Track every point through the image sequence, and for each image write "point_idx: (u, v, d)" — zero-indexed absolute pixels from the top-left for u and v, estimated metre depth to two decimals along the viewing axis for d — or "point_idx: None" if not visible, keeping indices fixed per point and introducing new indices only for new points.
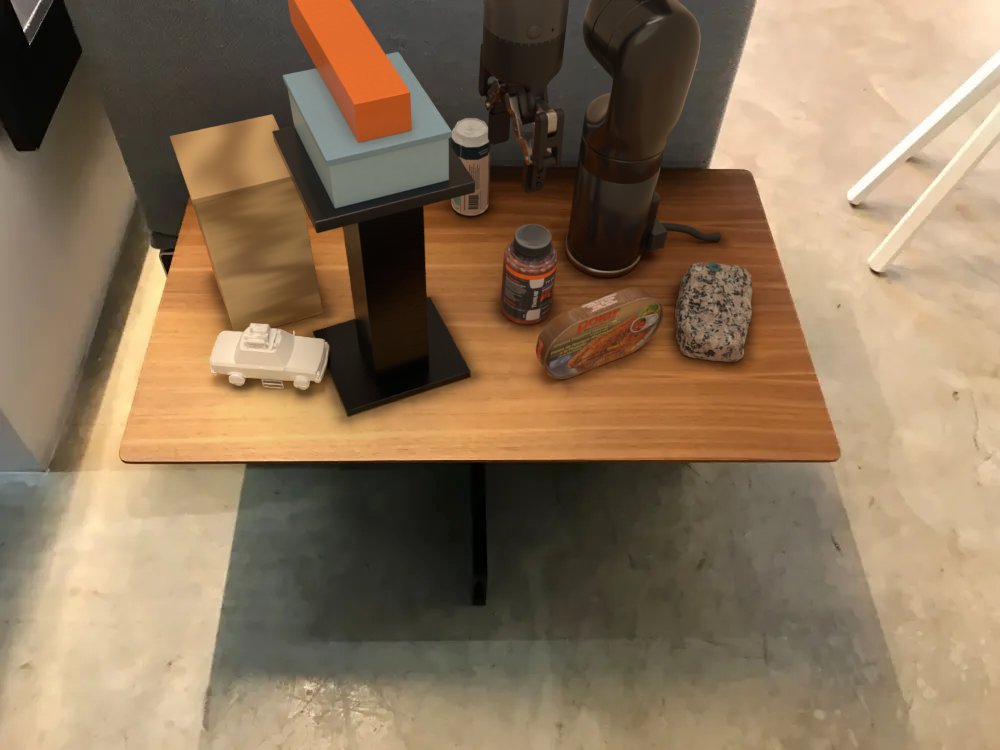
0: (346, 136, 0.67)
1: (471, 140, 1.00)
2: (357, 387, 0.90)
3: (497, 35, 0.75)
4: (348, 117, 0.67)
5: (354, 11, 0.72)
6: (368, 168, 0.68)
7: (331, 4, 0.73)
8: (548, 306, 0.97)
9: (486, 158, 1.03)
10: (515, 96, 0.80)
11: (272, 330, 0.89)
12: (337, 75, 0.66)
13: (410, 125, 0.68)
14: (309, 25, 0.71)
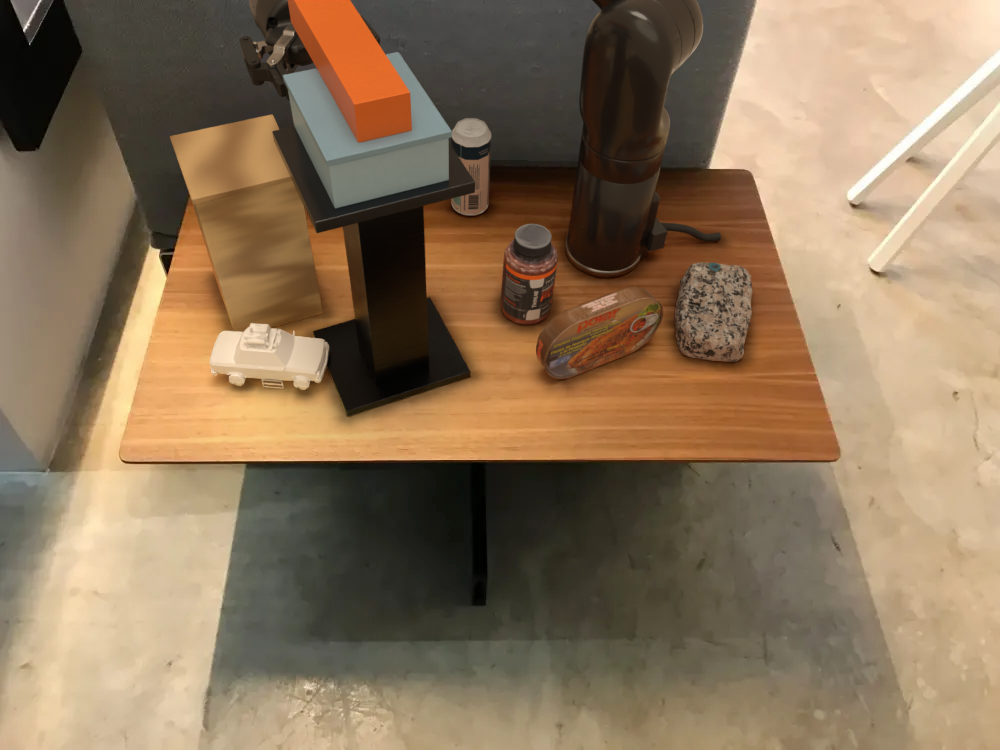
0: (346, 136, 0.67)
1: (471, 140, 1.00)
2: (357, 387, 0.90)
3: None
4: (348, 117, 0.67)
5: (354, 11, 0.72)
6: (368, 168, 0.68)
7: (331, 4, 0.73)
8: (548, 306, 0.97)
9: (486, 158, 1.03)
10: None
11: (272, 330, 0.89)
12: (337, 75, 0.66)
13: (410, 125, 0.68)
14: (309, 25, 0.71)
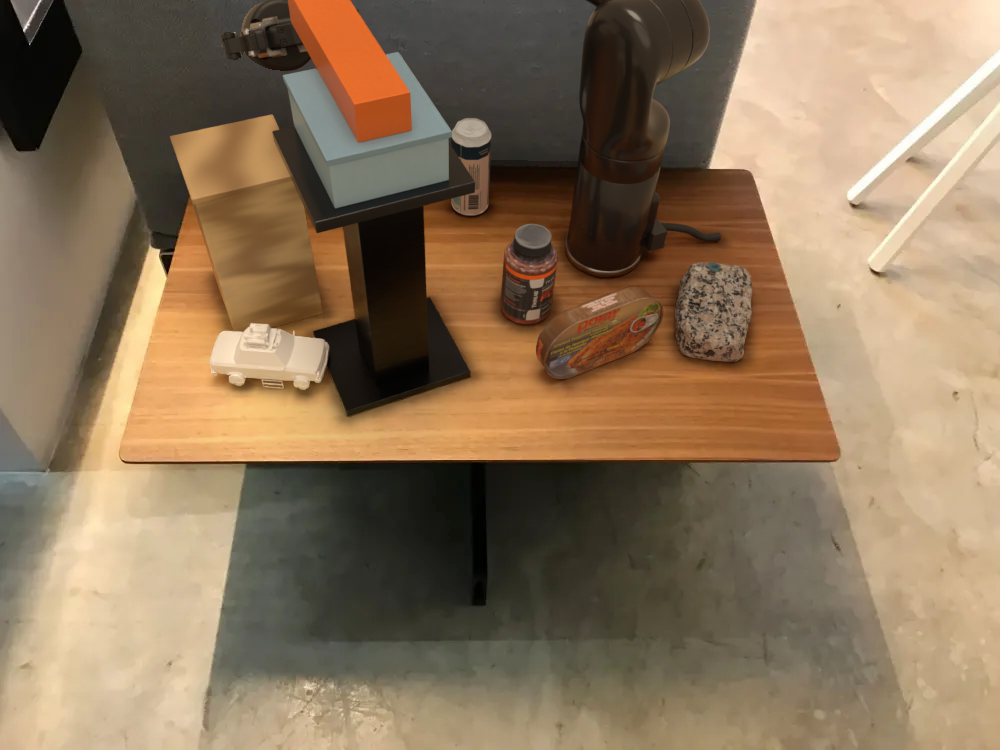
0: (346, 136, 0.67)
1: (471, 140, 1.00)
2: (357, 387, 0.90)
3: (272, 69, 0.99)
4: (348, 117, 0.67)
5: (354, 11, 0.72)
6: (368, 168, 0.68)
7: (331, 4, 0.73)
8: (548, 306, 0.97)
9: (486, 158, 1.03)
10: None
11: (272, 330, 0.89)
12: (337, 75, 0.66)
13: (410, 125, 0.68)
14: (309, 25, 0.71)
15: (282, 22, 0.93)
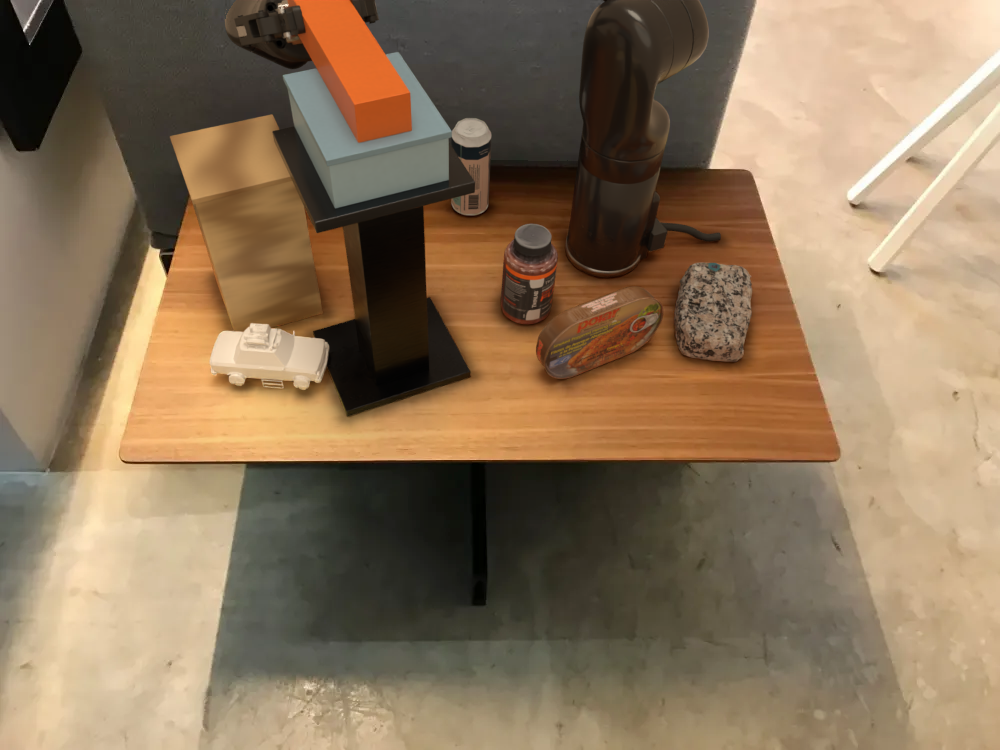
0: (346, 136, 0.67)
1: (471, 140, 1.00)
2: (357, 387, 0.90)
3: (289, 60, 0.88)
4: (348, 117, 0.67)
5: (354, 11, 0.72)
6: (368, 168, 0.68)
7: (331, 4, 0.73)
8: (548, 306, 0.97)
9: (486, 158, 1.03)
10: None
11: (272, 330, 0.89)
12: (337, 75, 0.66)
13: (410, 125, 0.68)
14: (309, 25, 0.71)
15: None
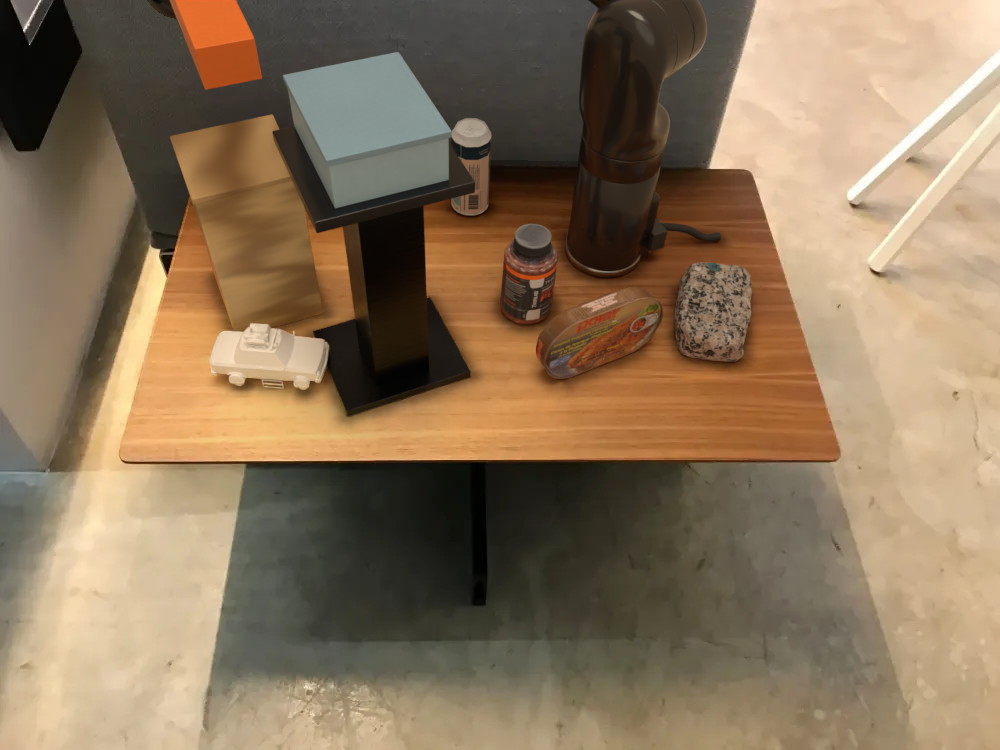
0: (346, 136, 0.67)
1: (471, 140, 1.00)
2: (357, 387, 0.90)
3: (174, 17, 0.88)
4: (196, 64, 0.67)
5: None
6: (368, 168, 0.68)
7: None
8: (548, 306, 0.97)
9: (486, 158, 1.03)
10: None
11: (272, 330, 0.89)
12: (183, 21, 0.66)
13: (259, 73, 0.67)
14: None
15: None
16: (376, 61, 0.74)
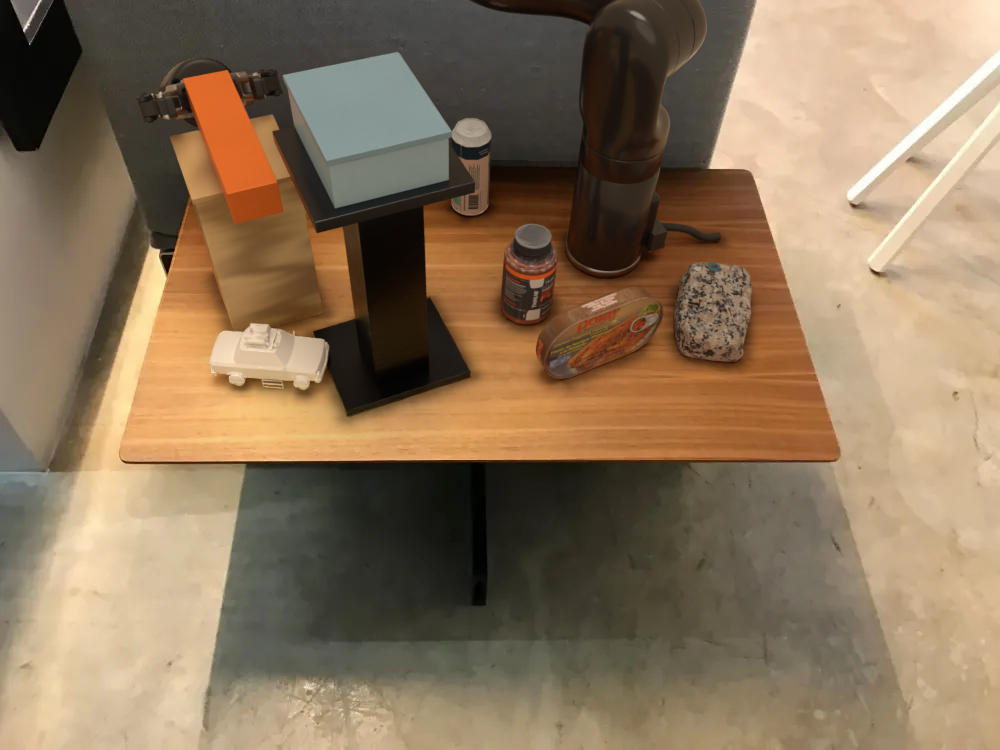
0: (346, 136, 0.67)
1: (471, 140, 1.00)
2: (357, 387, 0.90)
3: None
4: (227, 201, 0.78)
5: (240, 104, 0.83)
6: (368, 168, 0.68)
7: (220, 97, 0.84)
8: (548, 306, 0.97)
9: (486, 158, 1.03)
10: None
11: (272, 330, 0.89)
12: (216, 166, 0.77)
13: (281, 208, 0.78)
14: (198, 118, 0.81)
15: None
16: (376, 61, 0.74)
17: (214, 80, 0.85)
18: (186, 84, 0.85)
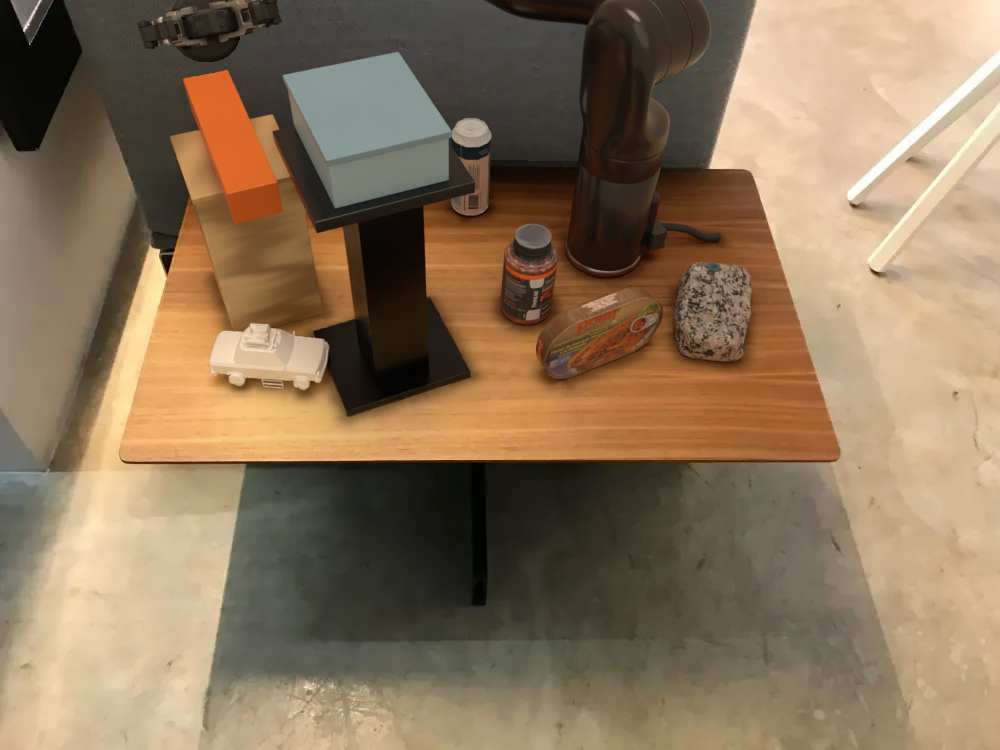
0: (346, 136, 0.67)
1: (471, 140, 1.00)
2: (357, 387, 0.90)
3: None
4: (227, 201, 0.78)
5: (240, 104, 0.83)
6: (368, 168, 0.68)
7: (220, 97, 0.84)
8: (548, 306, 0.97)
9: (486, 158, 1.03)
10: None
11: (272, 330, 0.89)
12: (216, 166, 0.77)
13: (281, 208, 0.78)
14: (198, 118, 0.81)
15: (203, 12, 0.93)
16: (376, 61, 0.74)
17: (214, 80, 0.85)
18: (186, 84, 0.85)
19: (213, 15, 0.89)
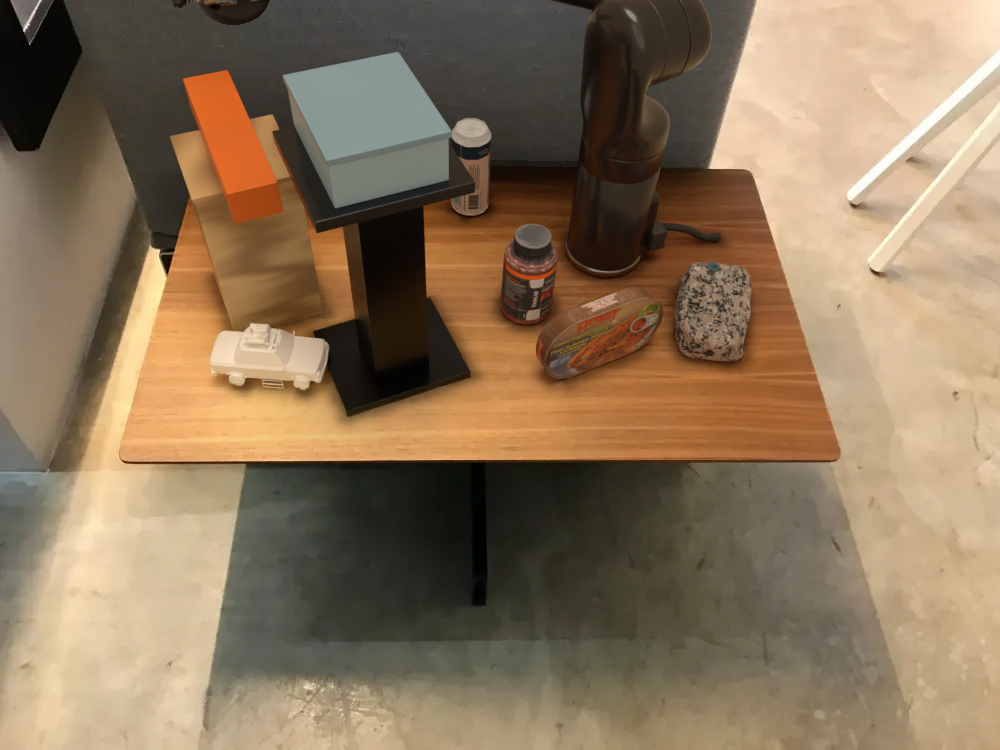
0: (346, 136, 0.67)
1: (471, 140, 1.00)
2: (357, 387, 0.90)
3: (226, 23, 0.95)
4: (227, 201, 0.78)
5: (240, 104, 0.83)
6: (368, 168, 0.68)
7: (220, 97, 0.84)
8: (548, 306, 0.97)
9: (486, 158, 1.03)
10: None
11: (272, 330, 0.89)
12: (216, 166, 0.77)
13: (281, 208, 0.78)
14: (198, 118, 0.81)
15: None
16: (376, 61, 0.74)
17: (214, 80, 0.85)
18: (186, 84, 0.85)
19: None
